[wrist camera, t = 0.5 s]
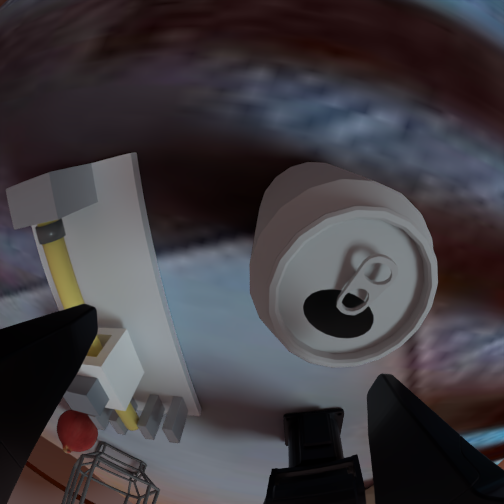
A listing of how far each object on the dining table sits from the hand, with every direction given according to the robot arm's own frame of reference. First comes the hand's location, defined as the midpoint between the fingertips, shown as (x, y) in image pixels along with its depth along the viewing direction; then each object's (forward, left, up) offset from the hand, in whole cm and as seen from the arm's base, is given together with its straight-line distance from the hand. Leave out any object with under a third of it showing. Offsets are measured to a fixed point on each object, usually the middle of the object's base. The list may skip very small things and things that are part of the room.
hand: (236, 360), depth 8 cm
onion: (-23, +26, -14) cm, 38 cm away
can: (+1, -4, -14) cm, 14 cm away
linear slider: (-6, +14, -14) cm, 21 cm away
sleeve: (-9, +14, -12) cm, 20 cm away
